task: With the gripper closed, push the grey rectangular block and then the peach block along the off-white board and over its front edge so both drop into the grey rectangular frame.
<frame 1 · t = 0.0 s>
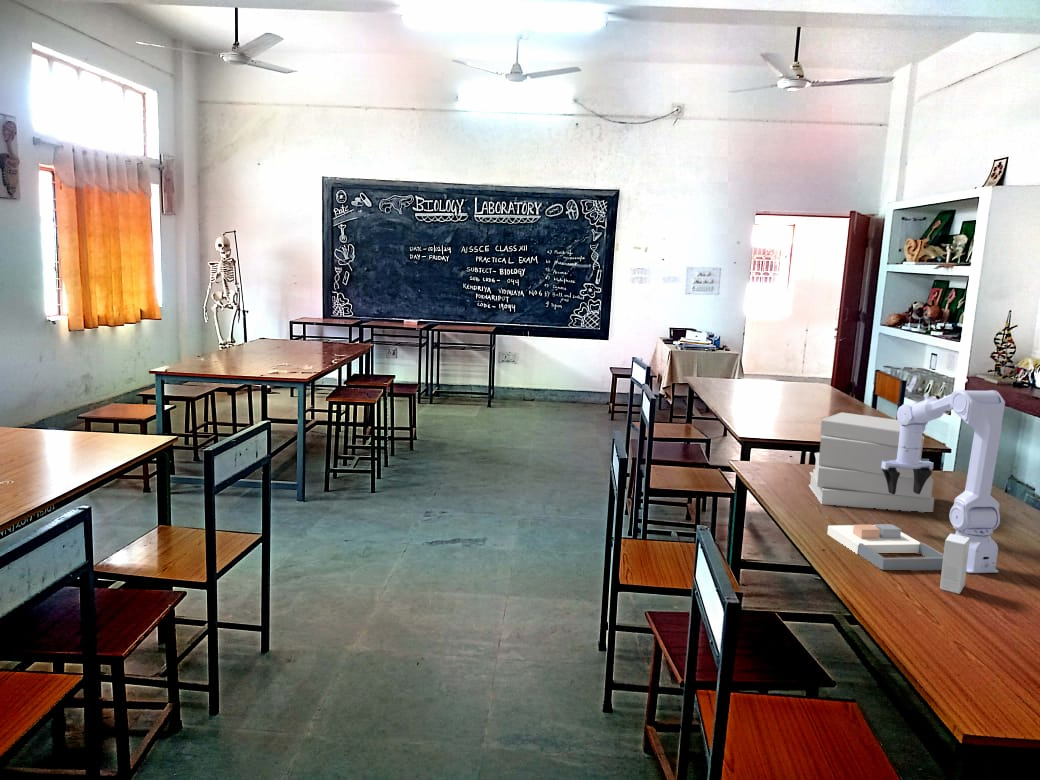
hand: (904, 493, 214), 10 cm above the table, tool pointing down, fingers open, 7 cm apart
peach block: (865, 536, 200), point 2 cm above the table, touching board
grey rectangular block: (886, 535, 200), point 2 cm above the table, touching board
board: (873, 543, 201), on the table
grey rectangular frame: (901, 561, 189), on the table
skincare box: (951, 588, 174), on the table
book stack: (866, 499, 243), on the table
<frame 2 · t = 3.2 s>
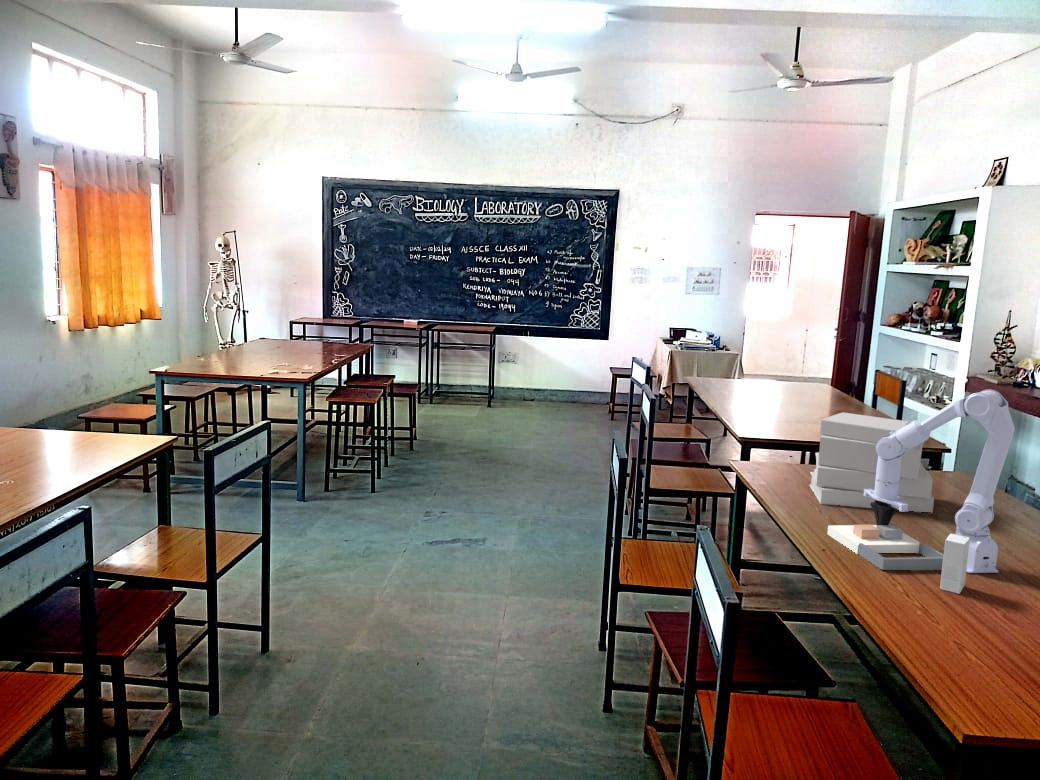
hand: (881, 529, 203), 3 cm above the table, tool pointing down, fingers closed
grey rectangular block: (888, 536, 200), point 3 cm above the table, touching gripper
everything else where it was.
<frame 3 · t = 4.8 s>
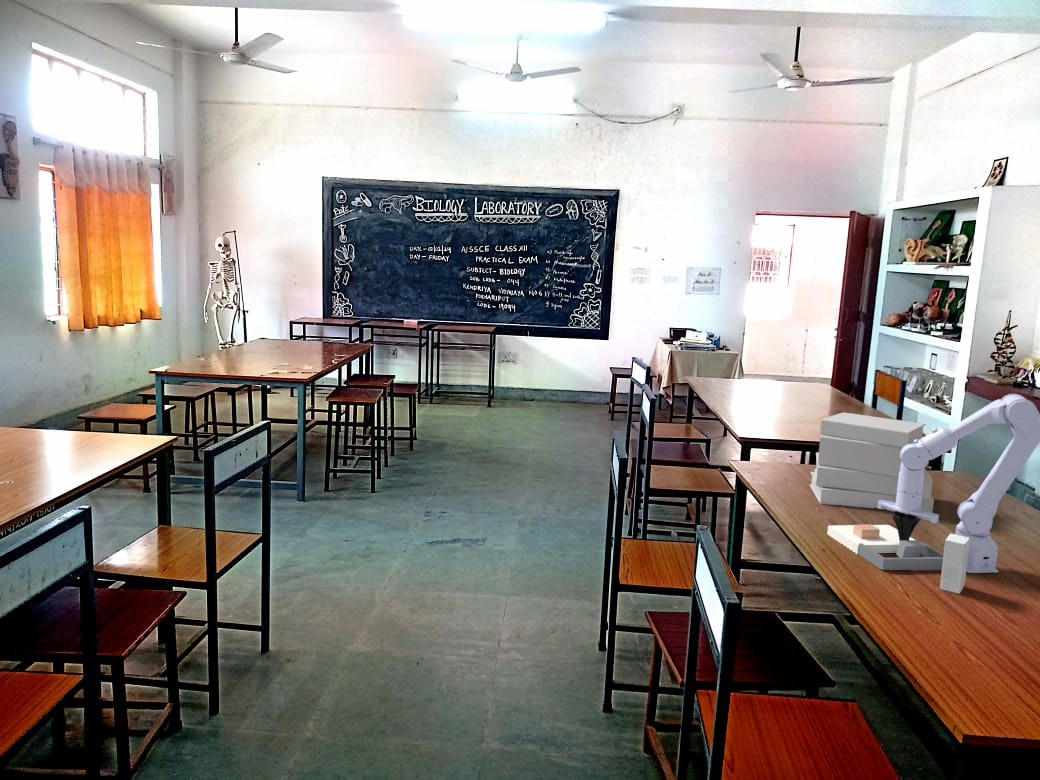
hand: (903, 541, 193), 3 cm above the table, tool pointing down, fingers closed
grey rectangular block: (906, 546, 192), point 2 cm above the table, tilted 104°
everything else where it was.
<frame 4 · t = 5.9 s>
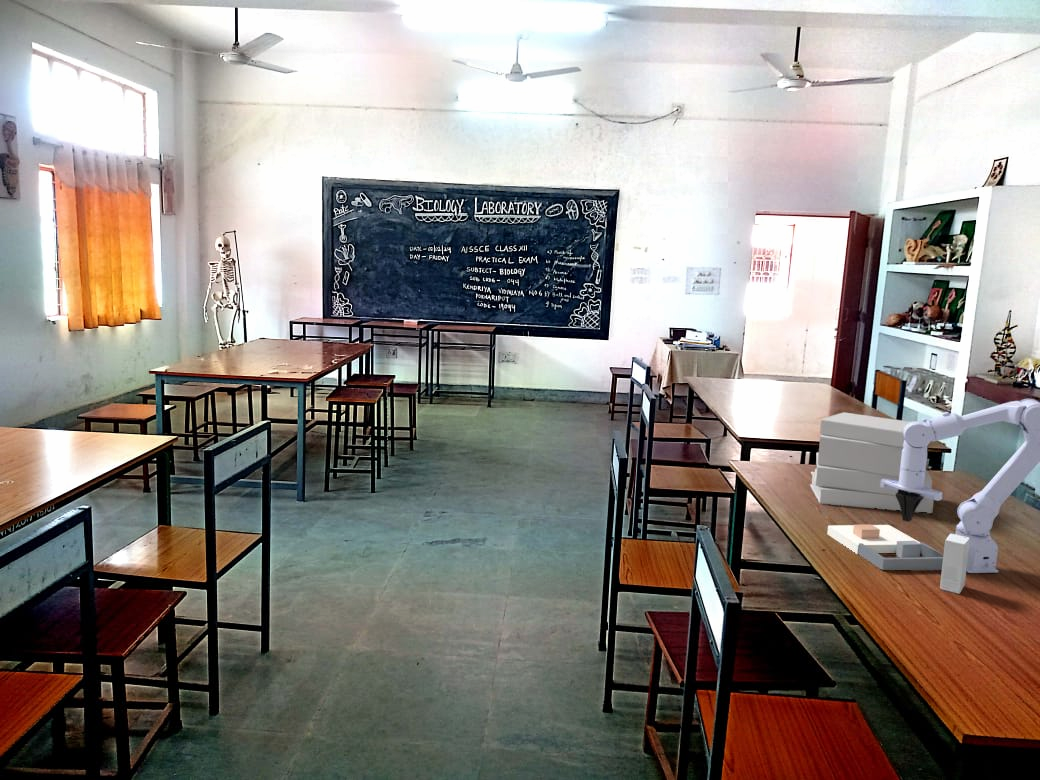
hand: (907, 520, 192), 9 cm above the table, tool pointing down, fingers closed
grey rectangular block: (905, 548, 193), point 2 cm above the table, tilted 90°
everything else where it was.
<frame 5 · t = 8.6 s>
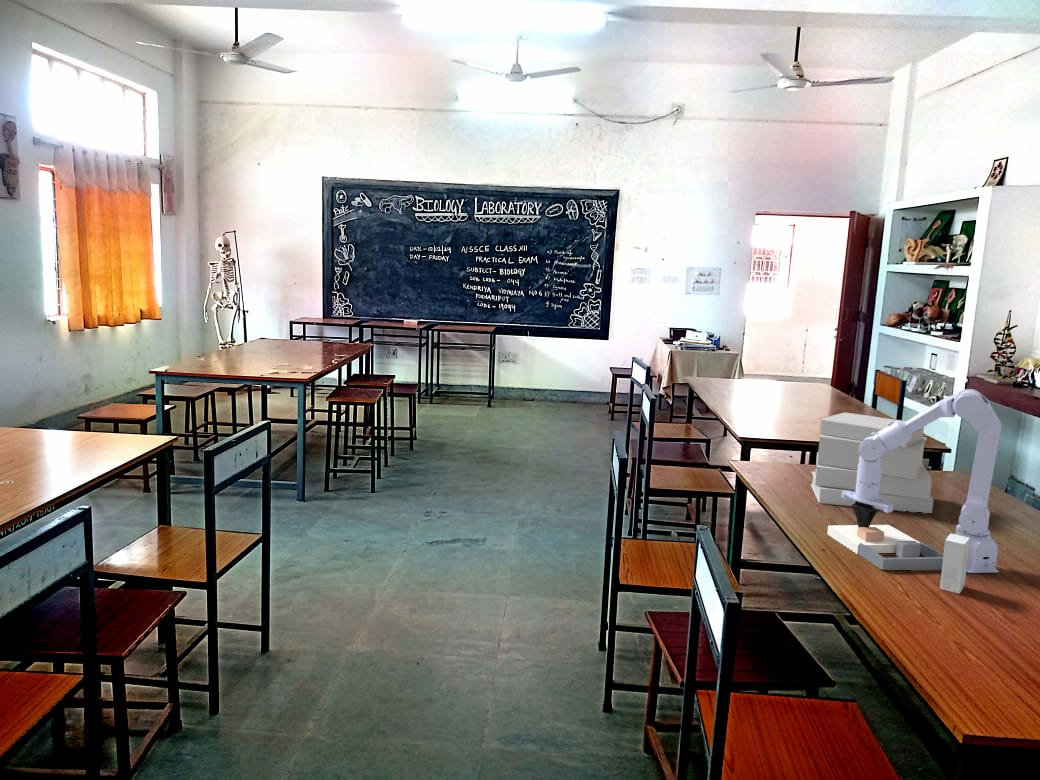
hand: (863, 530, 201), 3 cm above the table, tool pointing down, fingers closed
peach block: (870, 538, 198), point 3 cm above the table
everything else where it was.
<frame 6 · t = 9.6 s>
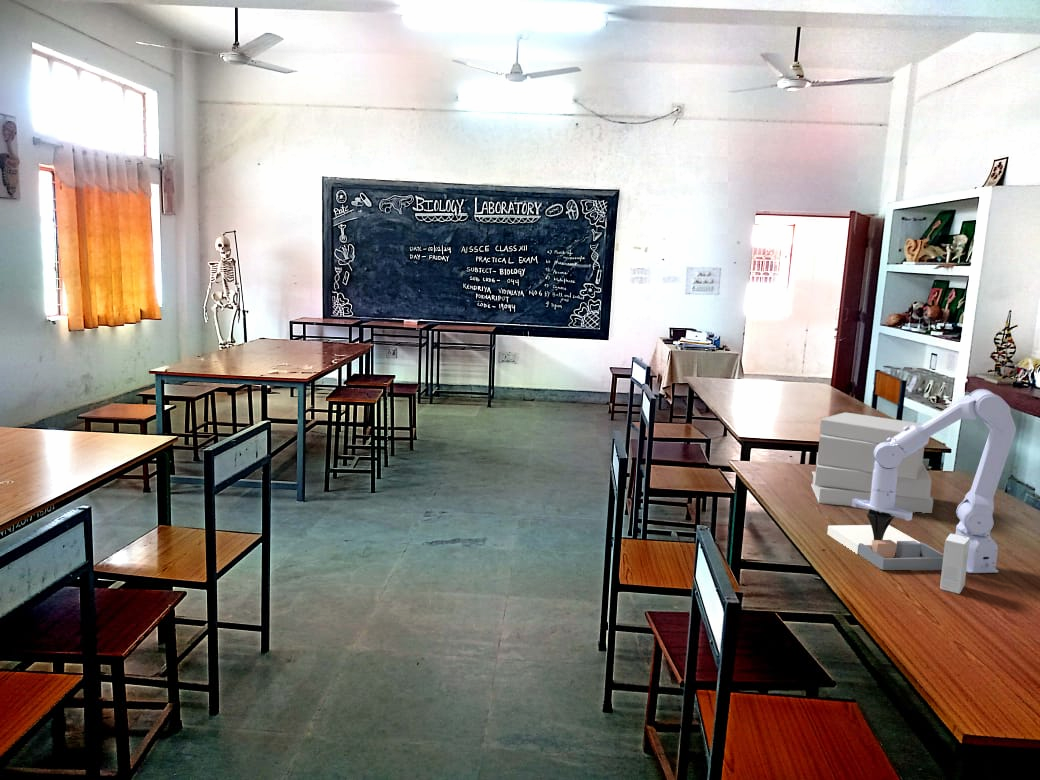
hand: (878, 539, 194), 3 cm above the table, tool pointing down, fingers closed
peach block: (880, 547, 193), point 2 cm above the table, tilted 90°
everything else where it was.
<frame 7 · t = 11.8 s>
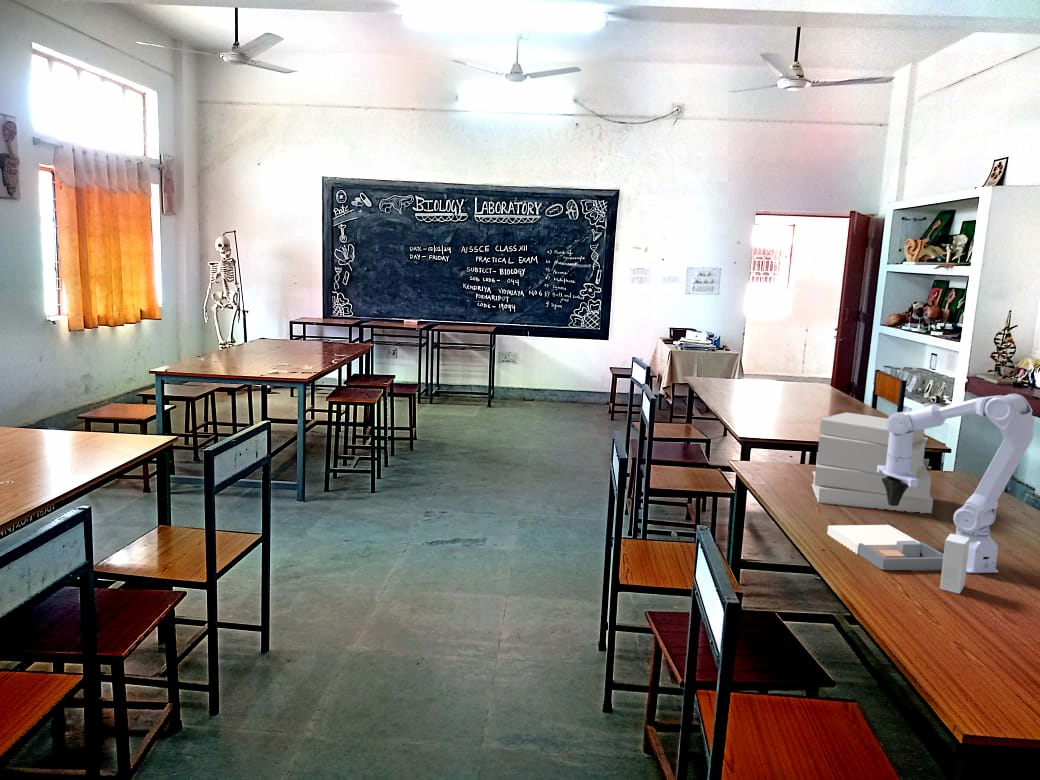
hand: (893, 505, 202), 10 cm above the table, tool pointing down, fingers closed
peach block: (891, 552, 189), point 2 cm above the table, tilted 180°
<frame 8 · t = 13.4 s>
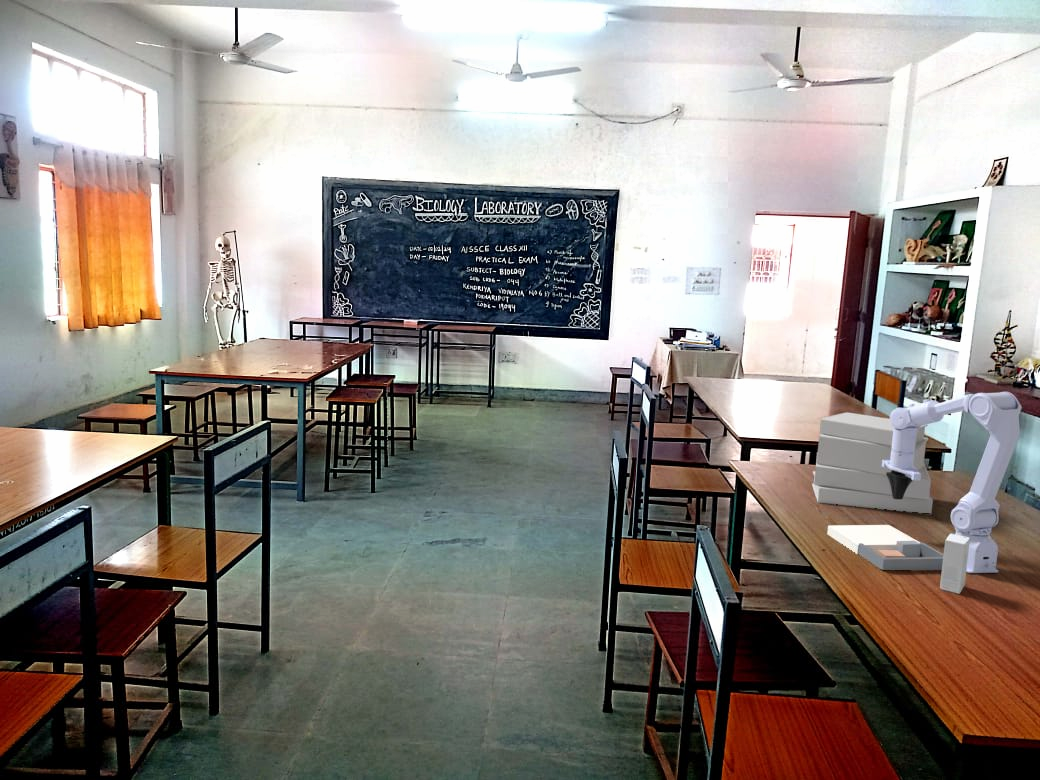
hand: (897, 498, 207), 10 cm above the table, tool pointing down, fingers closed
at the end: grey rectangular block inside the target area (5.8 cm from its centre), point 1.9 cm above the table; peach block inside the target area (3.1 cm from its centre), point 2.2 cm above the table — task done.
